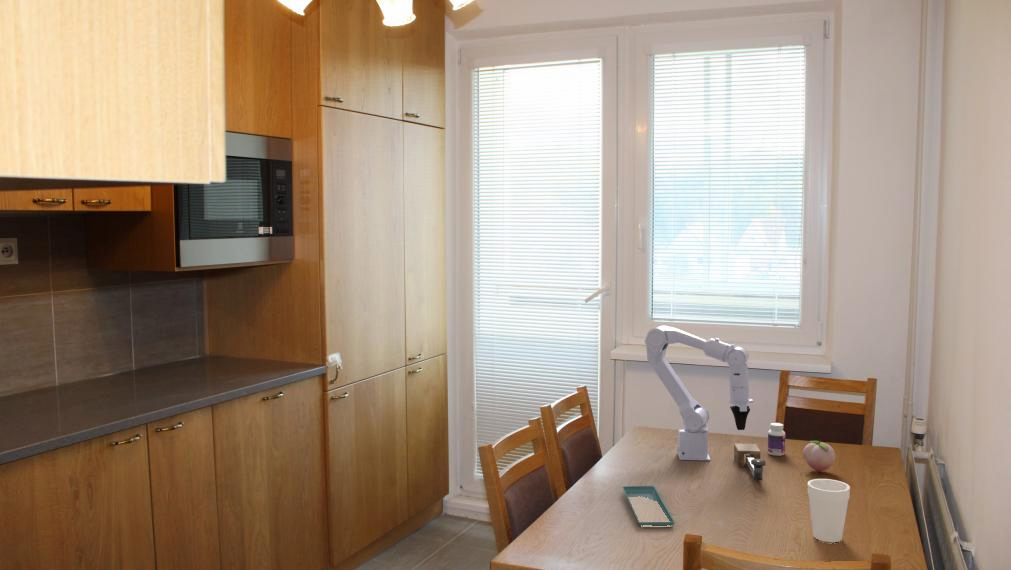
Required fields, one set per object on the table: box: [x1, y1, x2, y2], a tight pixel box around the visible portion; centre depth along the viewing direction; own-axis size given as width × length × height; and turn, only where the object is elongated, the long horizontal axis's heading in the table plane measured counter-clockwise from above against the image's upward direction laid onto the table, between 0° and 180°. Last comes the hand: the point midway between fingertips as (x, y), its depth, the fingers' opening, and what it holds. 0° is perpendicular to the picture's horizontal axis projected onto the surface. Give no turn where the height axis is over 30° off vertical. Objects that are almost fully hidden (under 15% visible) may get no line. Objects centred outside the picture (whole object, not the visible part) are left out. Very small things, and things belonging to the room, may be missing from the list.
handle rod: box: [745, 454, 767, 482], centre depth 241 cm, size 4×18×6 cm, turn 173°
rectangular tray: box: [621, 485, 675, 526], centre depth 215 cm, size 26×9×2 cm, turn 1°
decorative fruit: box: [802, 439, 836, 473], centre depth 244 cm, size 9×8×10 cm
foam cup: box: [806, 478, 851, 542], centre depth 194 cm, size 10×9×13 cm
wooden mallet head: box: [733, 443, 761, 468], centre depth 254 cm, size 7×8×5 cm
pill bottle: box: [767, 422, 786, 457], centre depth 263 cm, size 5×5×10 cm
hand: (740, 429), depth 254 cm, fingers closed
